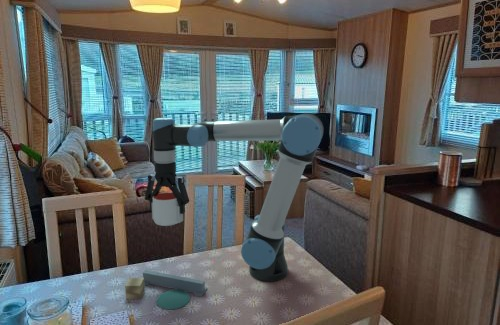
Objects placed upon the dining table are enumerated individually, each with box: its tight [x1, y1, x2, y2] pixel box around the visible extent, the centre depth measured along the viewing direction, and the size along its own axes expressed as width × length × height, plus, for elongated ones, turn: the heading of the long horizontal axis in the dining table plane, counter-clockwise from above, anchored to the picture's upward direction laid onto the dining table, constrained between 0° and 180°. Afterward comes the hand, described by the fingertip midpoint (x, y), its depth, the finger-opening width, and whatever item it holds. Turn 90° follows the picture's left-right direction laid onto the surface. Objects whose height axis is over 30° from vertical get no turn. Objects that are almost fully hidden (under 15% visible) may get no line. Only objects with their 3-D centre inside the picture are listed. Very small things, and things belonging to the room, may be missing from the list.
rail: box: [142, 269, 208, 298], centre depth 125 cm, size 24×5×4 cm, turn 72°
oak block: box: [124, 277, 146, 300], centre depth 120 cm, size 5×5×5 cm
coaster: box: [156, 289, 191, 311], centre depth 117 cm, size 11×11×1 cm
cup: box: [153, 191, 179, 227], centre depth 127 cm, size 10×10×10 cm
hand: (167, 219), depth 128 cm, fingers closed on cup, 10 cm apart
